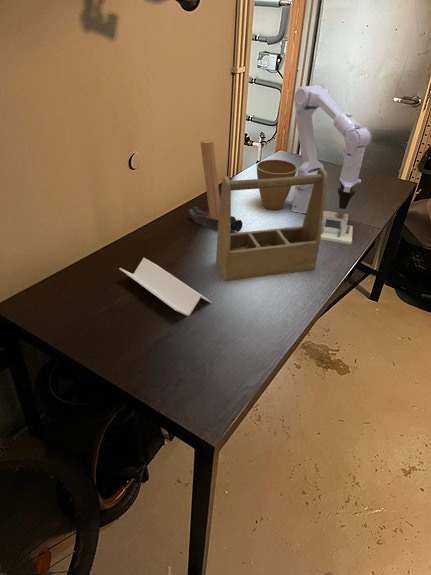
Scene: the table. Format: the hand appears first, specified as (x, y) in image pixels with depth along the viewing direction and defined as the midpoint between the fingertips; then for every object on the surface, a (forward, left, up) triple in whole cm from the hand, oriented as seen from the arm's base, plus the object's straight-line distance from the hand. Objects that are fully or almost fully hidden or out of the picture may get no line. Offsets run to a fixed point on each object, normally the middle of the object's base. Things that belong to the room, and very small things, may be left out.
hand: (343, 203), depth 150 cm
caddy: (-20, -34, -10) cm, 41 cm away
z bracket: (-45, -56, -10) cm, 72 cm away
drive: (-2, -5, -8) cm, 10 cm away
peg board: (-2, -5, -9) cm, 11 cm away
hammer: (-42, -14, -10) cm, 46 cm away
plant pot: (-25, +10, -9) cm, 29 cm away
